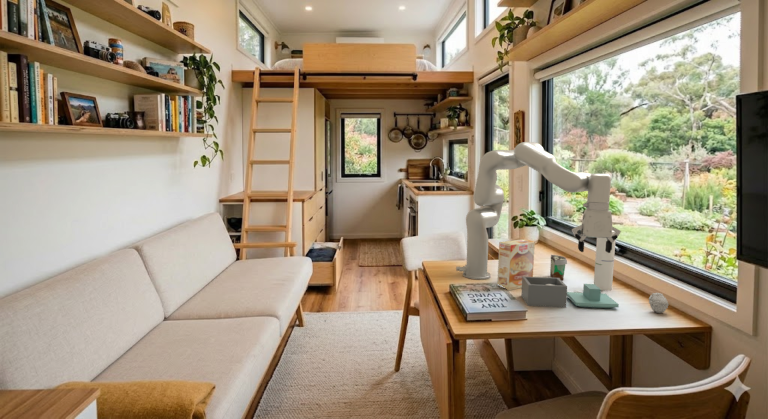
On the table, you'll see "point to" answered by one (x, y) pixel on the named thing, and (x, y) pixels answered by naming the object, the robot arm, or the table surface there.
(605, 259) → the cylindrical container
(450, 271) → the table surface
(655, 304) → the grey rock
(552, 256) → the food container
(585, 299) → the lid
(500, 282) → the coffeecake box
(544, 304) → the storage box
